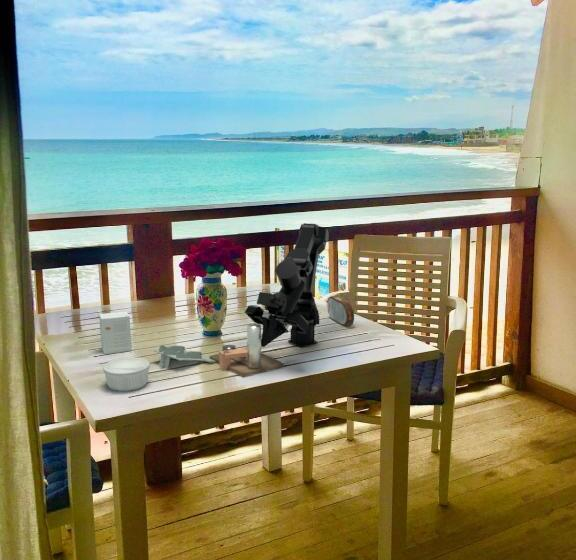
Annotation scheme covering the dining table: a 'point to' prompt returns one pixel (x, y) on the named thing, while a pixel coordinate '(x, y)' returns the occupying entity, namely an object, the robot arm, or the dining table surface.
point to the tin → (340, 310)
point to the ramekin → (127, 373)
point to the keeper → (230, 356)
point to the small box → (115, 332)
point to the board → (244, 371)
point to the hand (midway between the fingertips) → (261, 346)
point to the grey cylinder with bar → (250, 347)
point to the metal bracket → (178, 355)
